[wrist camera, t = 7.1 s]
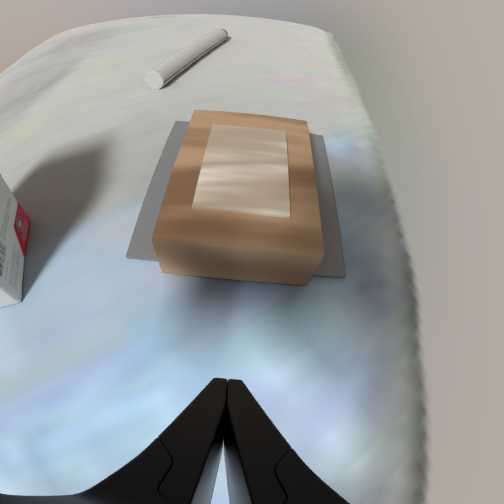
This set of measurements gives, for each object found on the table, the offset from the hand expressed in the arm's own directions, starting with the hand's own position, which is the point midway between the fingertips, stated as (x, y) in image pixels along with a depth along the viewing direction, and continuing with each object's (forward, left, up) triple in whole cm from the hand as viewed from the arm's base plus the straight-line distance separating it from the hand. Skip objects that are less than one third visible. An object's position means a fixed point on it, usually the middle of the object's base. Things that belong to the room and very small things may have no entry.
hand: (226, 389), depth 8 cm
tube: (+48, -6, -10) cm, 49 cm away
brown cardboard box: (+8, -3, -7) cm, 11 cm away
